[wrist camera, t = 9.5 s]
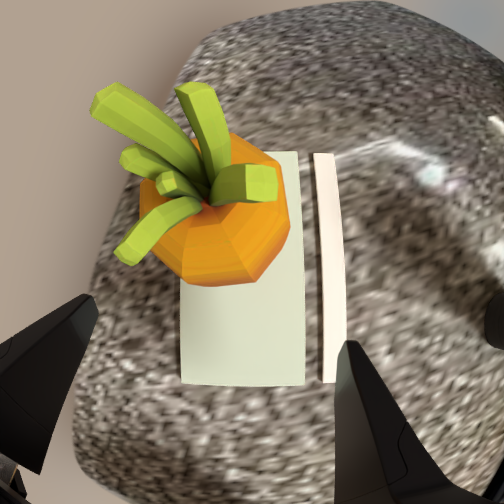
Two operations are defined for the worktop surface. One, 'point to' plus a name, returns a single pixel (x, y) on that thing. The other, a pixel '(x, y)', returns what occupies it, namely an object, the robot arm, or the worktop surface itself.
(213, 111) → the carrot
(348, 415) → the robot arm
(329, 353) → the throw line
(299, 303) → the mat
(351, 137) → the worktop surface
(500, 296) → the drinking cup
